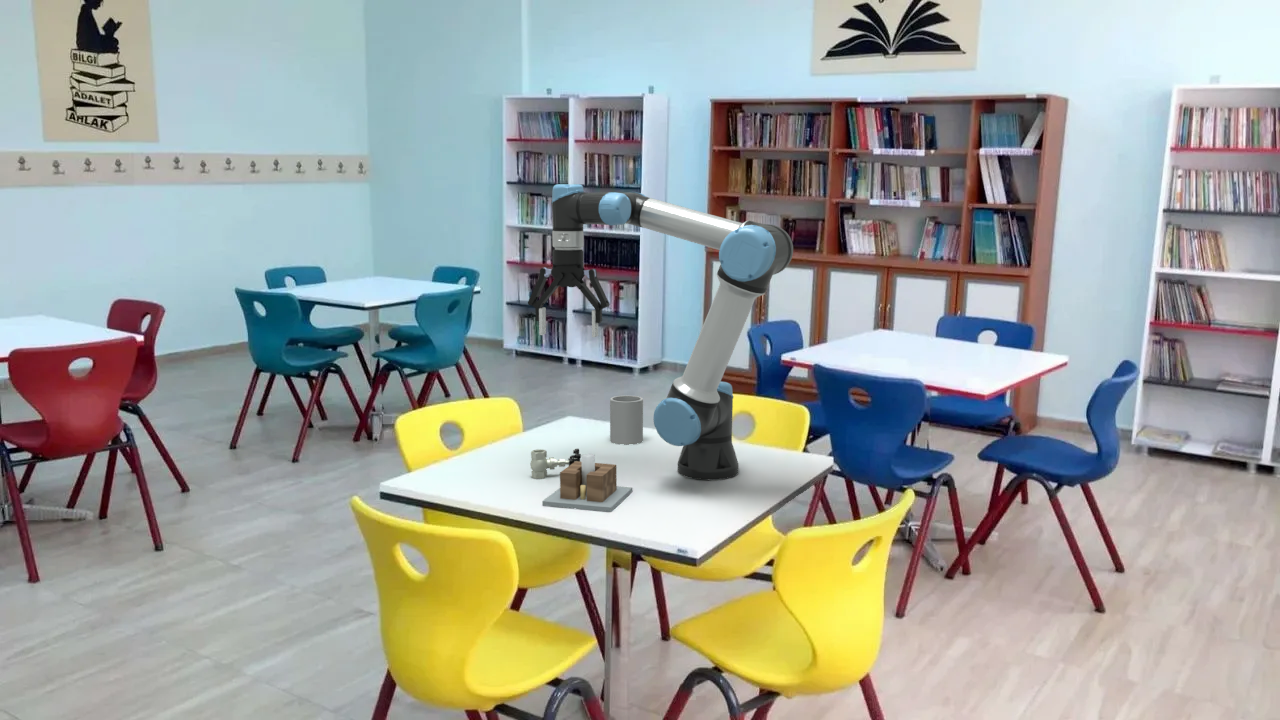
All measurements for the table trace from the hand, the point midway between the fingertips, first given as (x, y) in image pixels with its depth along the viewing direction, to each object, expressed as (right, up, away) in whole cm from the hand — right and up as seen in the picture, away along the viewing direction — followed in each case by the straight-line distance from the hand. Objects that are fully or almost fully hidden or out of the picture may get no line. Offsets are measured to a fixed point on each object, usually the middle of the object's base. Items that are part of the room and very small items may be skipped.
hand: (568, 335), depth 254 cm
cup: (+14, -29, +35) cm, 47 cm away
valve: (-3, -35, -1) cm, 35 cm away
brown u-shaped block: (+6, -36, -19) cm, 42 cm away
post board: (+6, -37, -19) cm, 42 cm away
